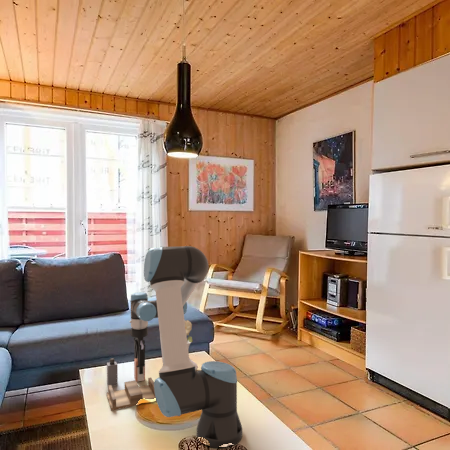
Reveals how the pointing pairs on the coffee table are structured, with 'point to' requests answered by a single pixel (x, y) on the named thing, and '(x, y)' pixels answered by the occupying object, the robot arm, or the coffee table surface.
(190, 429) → the coffee table surface
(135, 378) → the terracotta plug
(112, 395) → the wooden ridged block
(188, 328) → the flower in vase
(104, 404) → the coffee table surface
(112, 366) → the charcoal plug
